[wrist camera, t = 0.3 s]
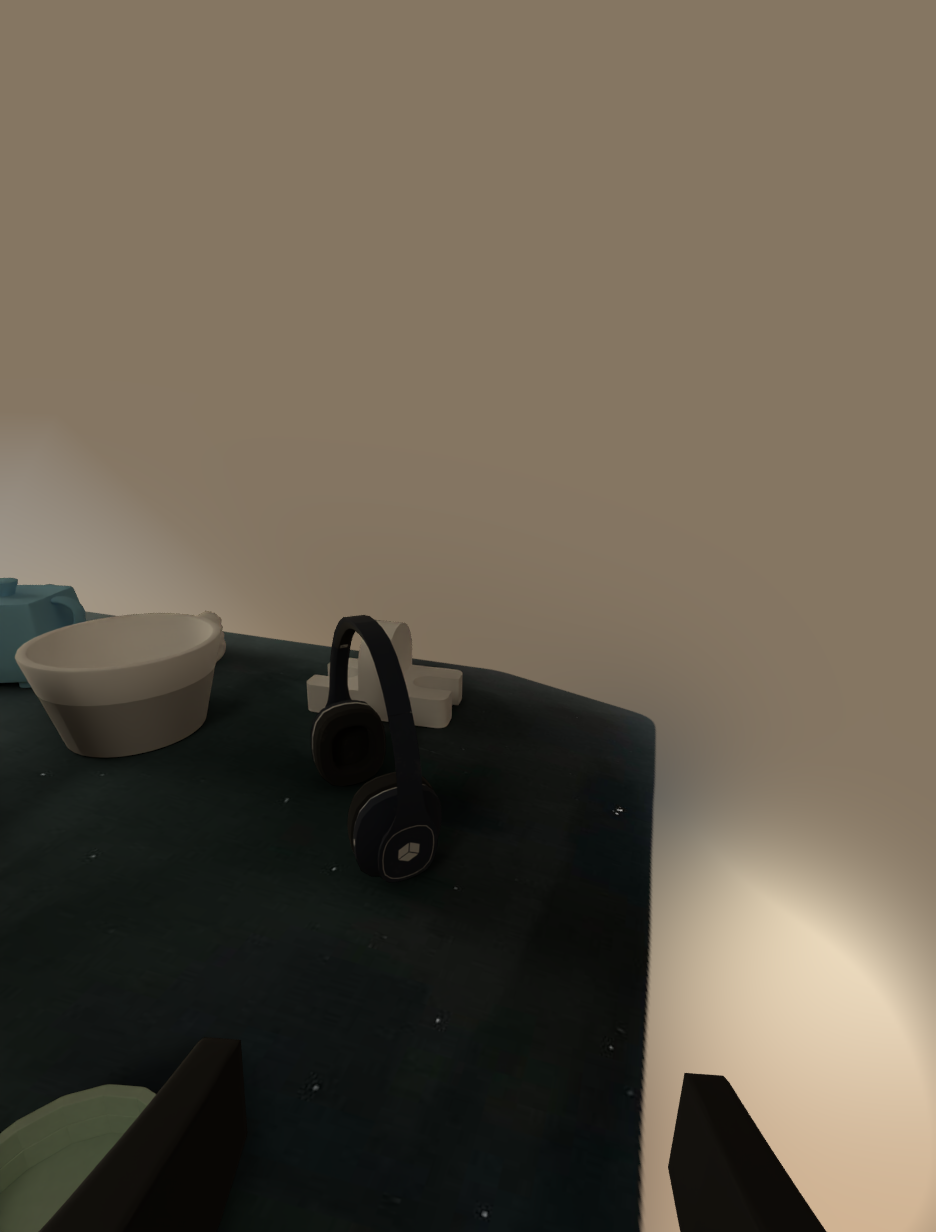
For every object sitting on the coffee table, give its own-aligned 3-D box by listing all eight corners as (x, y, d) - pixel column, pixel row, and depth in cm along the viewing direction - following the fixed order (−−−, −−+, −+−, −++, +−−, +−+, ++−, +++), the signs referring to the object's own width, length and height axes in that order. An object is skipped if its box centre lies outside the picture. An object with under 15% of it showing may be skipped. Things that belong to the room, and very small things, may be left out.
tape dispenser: (445, 729, 65) (446, 642, 62) (304, 710, 69) (299, 627, 66) (463, 695, 74) (465, 618, 71) (338, 680, 78) (335, 606, 75)
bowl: (32, 716, 65) (13, 629, 62) (206, 679, 77) (197, 604, 74) (38, 795, 51) (14, 687, 48) (251, 735, 63) (243, 645, 59)
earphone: (453, 882, 42) (459, 657, 37) (365, 913, 39) (357, 673, 34) (374, 755, 59) (369, 588, 54) (308, 769, 56) (296, 595, 51)
